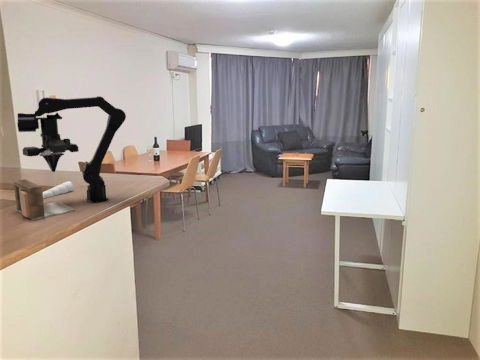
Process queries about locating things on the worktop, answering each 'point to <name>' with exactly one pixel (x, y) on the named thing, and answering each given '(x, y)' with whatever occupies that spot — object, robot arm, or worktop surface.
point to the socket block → (38, 201)
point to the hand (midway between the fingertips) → (53, 171)
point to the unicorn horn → (58, 190)
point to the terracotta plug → (26, 203)
